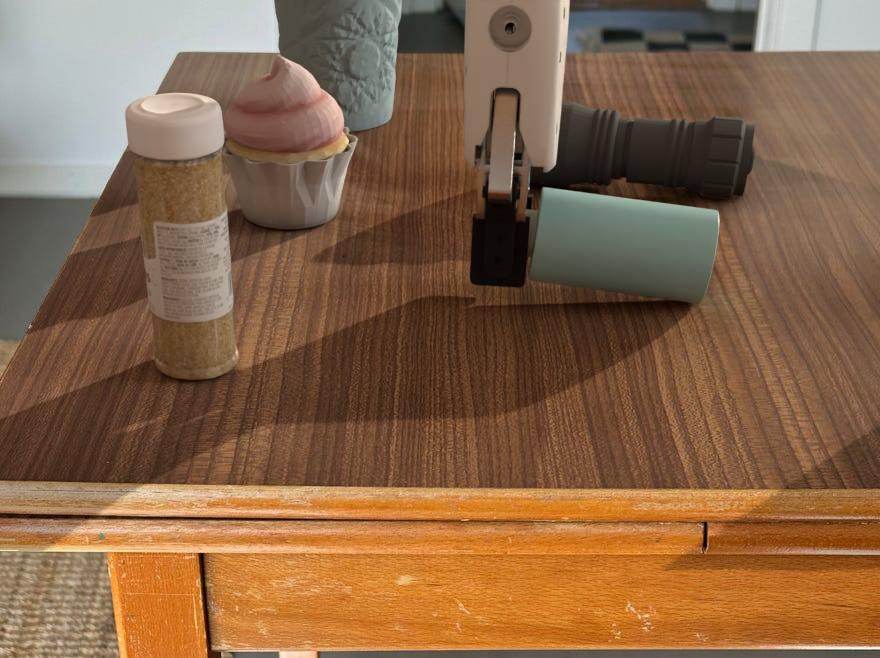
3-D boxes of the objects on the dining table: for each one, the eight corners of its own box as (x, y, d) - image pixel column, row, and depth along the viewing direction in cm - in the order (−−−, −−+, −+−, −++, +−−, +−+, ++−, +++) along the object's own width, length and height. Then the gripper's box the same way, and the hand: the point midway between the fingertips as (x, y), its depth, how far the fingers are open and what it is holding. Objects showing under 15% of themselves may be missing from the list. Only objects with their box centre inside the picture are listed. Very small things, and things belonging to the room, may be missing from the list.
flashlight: (747, 185, 93) (761, 105, 89) (747, 212, 89) (761, 130, 85) (530, 167, 95) (535, 89, 92) (519, 193, 91) (525, 112, 88)
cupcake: (219, 191, 91) (206, 36, 85) (354, 187, 92) (351, 33, 86) (217, 243, 84) (204, 77, 77) (364, 238, 84) (363, 74, 78)
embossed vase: (301, 91, 109) (296, -71, 102) (419, 102, 107) (422, -62, 100) (258, 129, 102) (249, -44, 94) (385, 141, 100) (385, -34, 92)
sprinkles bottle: (163, 344, 72) (134, 88, 64) (246, 346, 72) (228, 90, 64) (147, 383, 69) (114, 117, 60) (234, 385, 69) (213, 119, 60)
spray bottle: (695, 282, 79) (716, 196, 76) (700, 318, 75) (722, 230, 72) (472, 251, 80) (483, 166, 77) (466, 286, 76) (477, 197, 73)
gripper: (594, -41, 60) (559, 336, 71) (595, -104, 72) (565, 225, 84) (429, -47, 60) (421, 328, 72) (458, -109, 73) (448, 218, 84)
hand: (499, 269), depth 78 cm, fingers closed on spray bottle, 2 cm apart
